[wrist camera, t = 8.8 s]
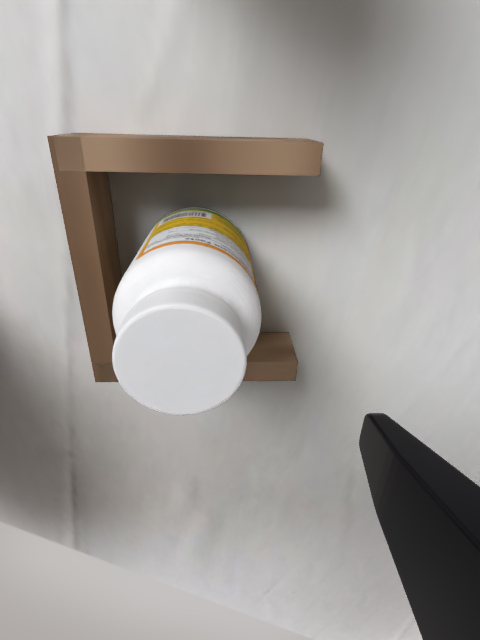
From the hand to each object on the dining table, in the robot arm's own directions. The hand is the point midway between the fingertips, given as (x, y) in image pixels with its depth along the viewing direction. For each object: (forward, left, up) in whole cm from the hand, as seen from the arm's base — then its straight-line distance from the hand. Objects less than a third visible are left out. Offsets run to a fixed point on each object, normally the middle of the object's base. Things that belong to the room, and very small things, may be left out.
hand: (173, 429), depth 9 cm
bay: (0, 0, -12) cm, 12 cm away
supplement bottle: (0, 0, -13) cm, 13 cm away
